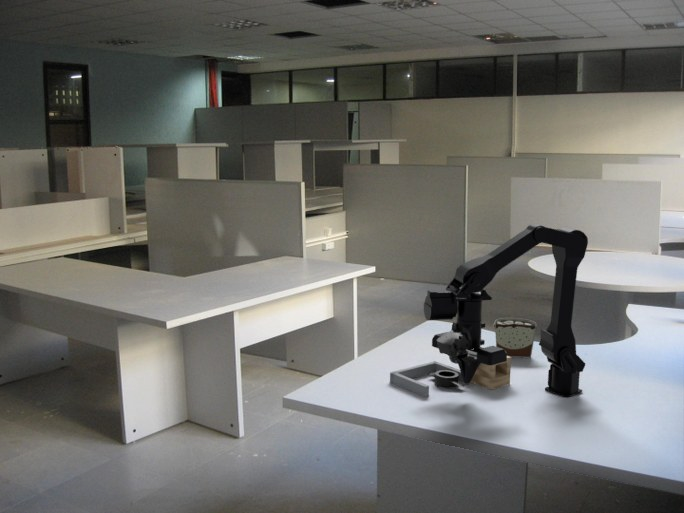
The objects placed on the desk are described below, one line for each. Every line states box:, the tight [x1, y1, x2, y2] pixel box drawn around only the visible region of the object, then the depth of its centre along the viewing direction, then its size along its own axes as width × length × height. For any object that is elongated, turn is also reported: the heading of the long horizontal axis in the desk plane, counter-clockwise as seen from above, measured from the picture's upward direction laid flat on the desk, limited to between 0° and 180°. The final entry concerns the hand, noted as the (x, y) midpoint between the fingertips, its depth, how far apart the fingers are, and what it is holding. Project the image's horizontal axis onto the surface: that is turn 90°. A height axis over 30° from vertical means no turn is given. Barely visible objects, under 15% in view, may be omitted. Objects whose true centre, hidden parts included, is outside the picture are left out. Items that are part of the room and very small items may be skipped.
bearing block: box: [471, 356, 512, 391], centre depth 174 cm, size 8×7×7 cm
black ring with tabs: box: [427, 370, 465, 389], centre depth 173 cm, size 8×10×3 cm
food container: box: [492, 317, 539, 359], centre depth 198 cm, size 12×6×10 cm, turn 84°
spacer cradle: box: [389, 360, 472, 398], centre depth 174 cm, size 13×16×2 cm
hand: (466, 383), depth 164 cm, fingers closed
